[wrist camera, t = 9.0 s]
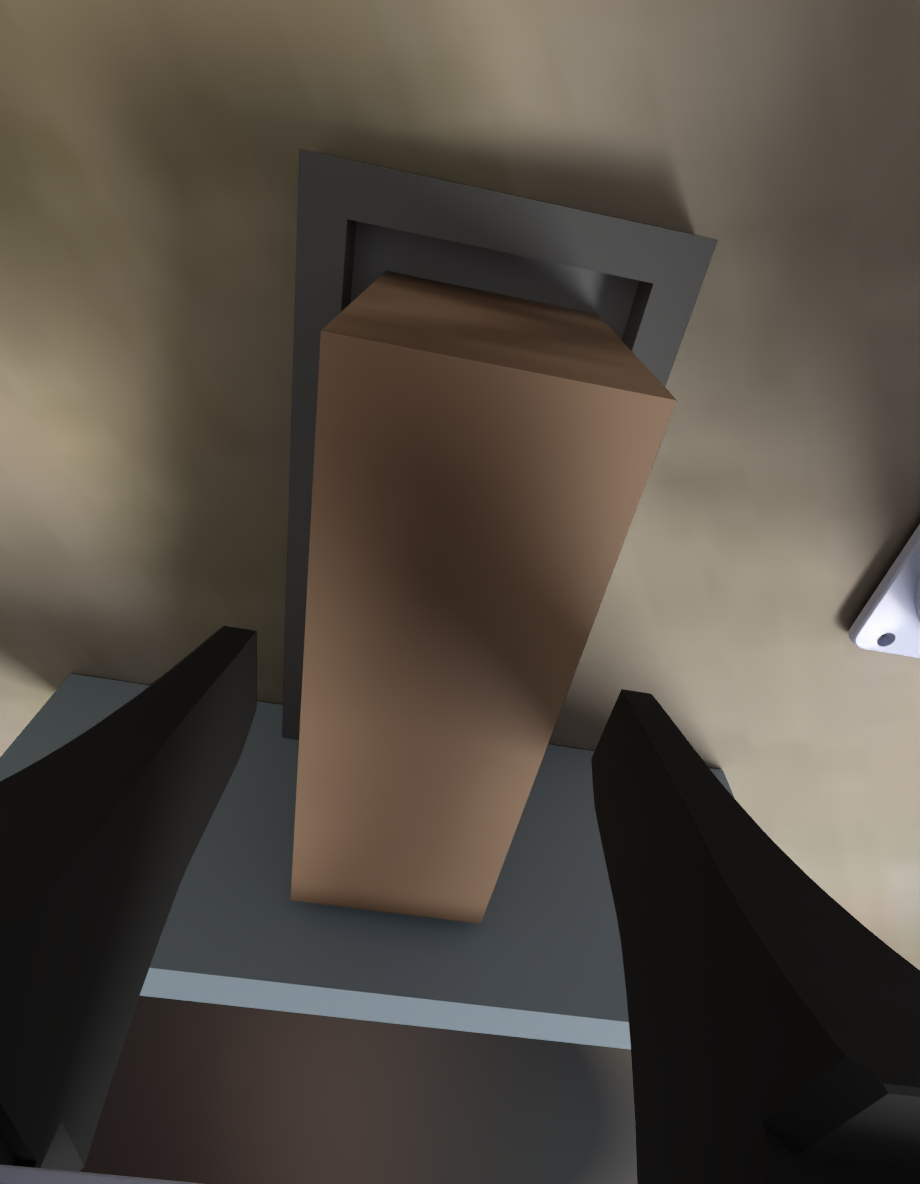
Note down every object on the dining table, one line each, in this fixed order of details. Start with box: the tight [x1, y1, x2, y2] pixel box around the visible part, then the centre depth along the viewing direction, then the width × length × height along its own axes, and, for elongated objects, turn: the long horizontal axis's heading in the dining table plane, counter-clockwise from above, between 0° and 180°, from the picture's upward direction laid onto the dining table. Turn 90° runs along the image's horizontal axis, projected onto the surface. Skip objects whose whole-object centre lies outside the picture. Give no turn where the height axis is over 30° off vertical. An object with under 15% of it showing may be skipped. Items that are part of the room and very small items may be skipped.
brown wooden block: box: [291, 271, 677, 924], centre depth 15 cm, size 5×14×7 cm, turn 170°
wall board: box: [0, 149, 734, 1049], centre depth 15 cm, size 24×18×9 cm
